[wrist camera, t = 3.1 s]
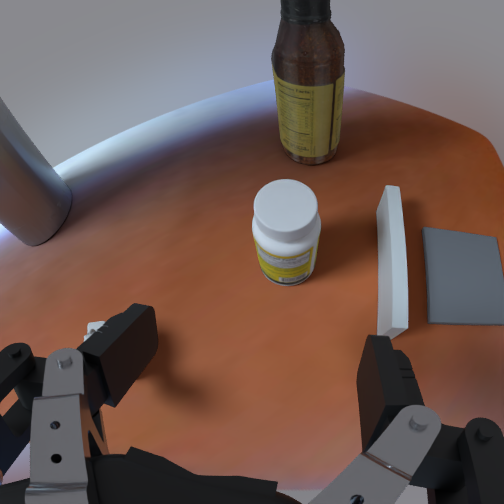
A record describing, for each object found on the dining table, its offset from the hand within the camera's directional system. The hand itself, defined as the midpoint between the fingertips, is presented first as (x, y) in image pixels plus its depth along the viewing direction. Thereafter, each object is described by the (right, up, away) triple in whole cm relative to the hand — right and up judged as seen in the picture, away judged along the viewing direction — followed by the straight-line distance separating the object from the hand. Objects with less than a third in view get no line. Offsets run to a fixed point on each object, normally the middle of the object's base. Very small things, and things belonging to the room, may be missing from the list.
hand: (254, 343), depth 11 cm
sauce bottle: (+6, +14, +21) cm, 26 cm away
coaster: (+20, +1, +13) cm, 23 cm away
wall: (+11, +2, +14) cm, 18 cm away
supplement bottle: (+3, +2, +16) cm, 16 cm away
